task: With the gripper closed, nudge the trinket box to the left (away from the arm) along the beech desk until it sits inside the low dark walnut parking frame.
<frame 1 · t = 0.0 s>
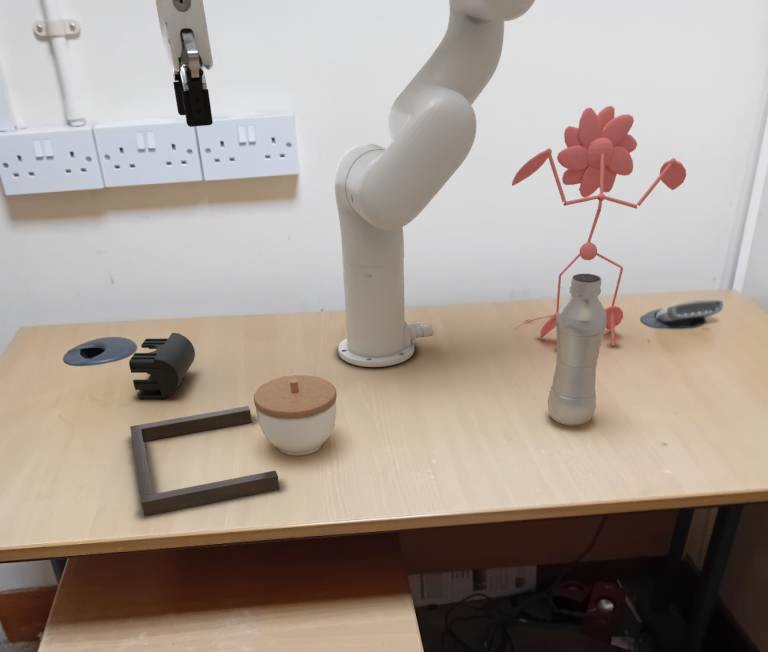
hand: (195, 119, 104), 37 cm above the table, tool pointing down, fingers open, 9 cm apart
parking frame: (202, 462, 103), on the table
figurine: (573, 334, 135), on the table
plastic bottle: (569, 420, 110), on the table
end cap: (168, 387, 123), on the table
trinket box: (300, 445, 107), on the table
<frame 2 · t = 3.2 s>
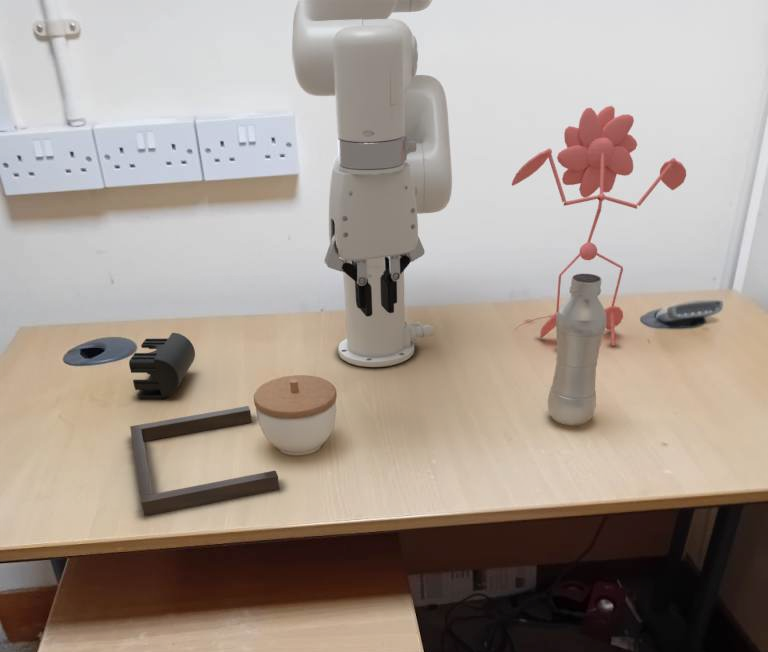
hand: (376, 310, 100), 17 cm above the table, tool pointing down, fingers closed
nothing on the table moved.
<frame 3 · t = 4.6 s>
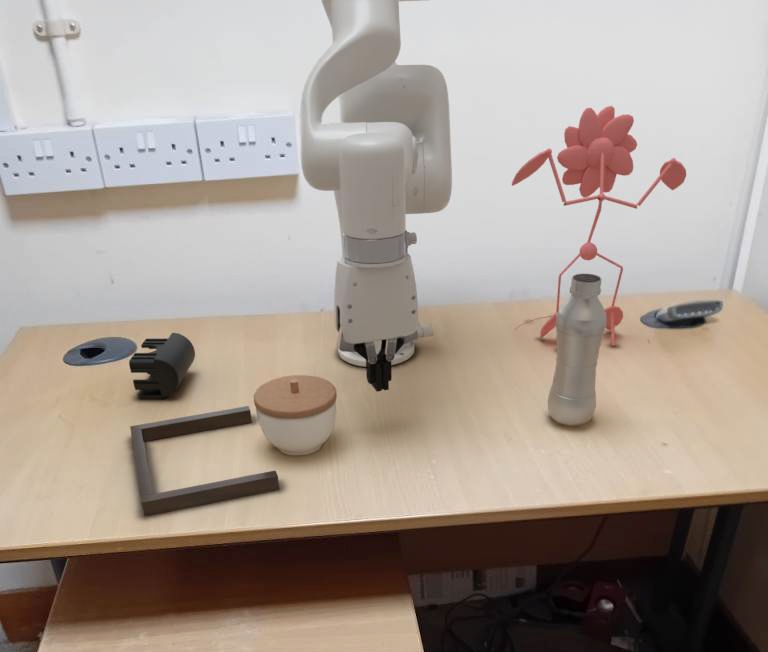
hand: (379, 386, 105), 7 cm above the table, tool pointing down, fingers closed
nothing on the table moved.
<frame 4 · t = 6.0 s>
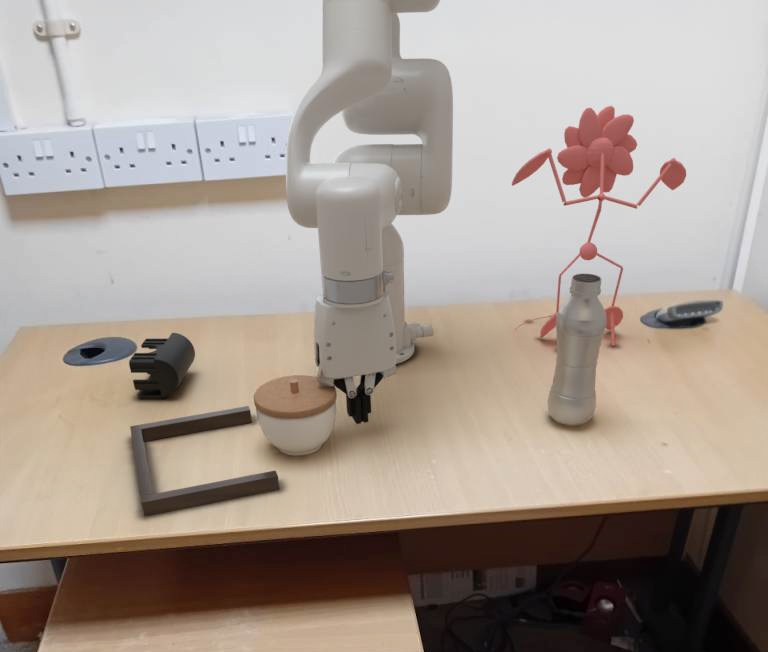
hand: (359, 418, 107), 2 cm above the table, tool pointing down, fingers closed
trinket box: (300, 445, 107), on the table, touching gripper
everything else where it was.
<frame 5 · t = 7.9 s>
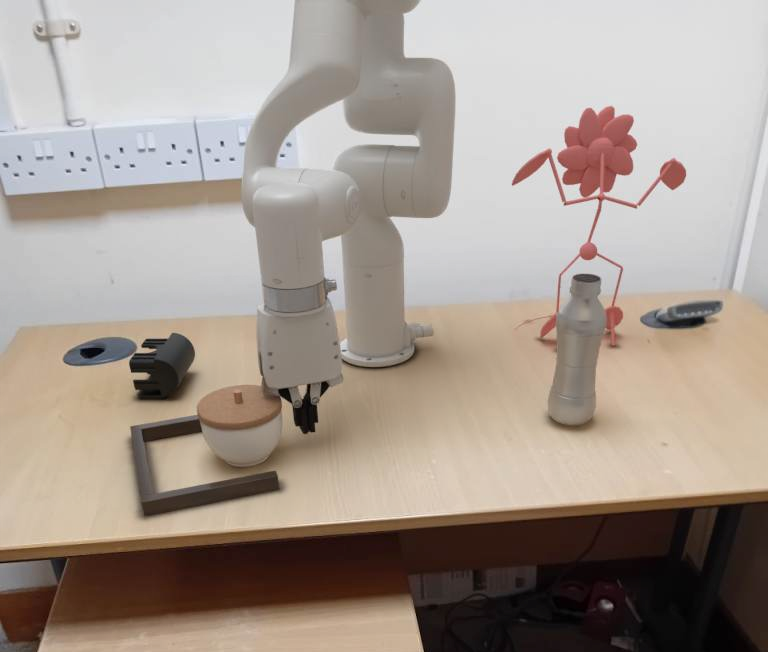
hand: (306, 428, 105), 2 cm above the table, tool pointing down, fingers closed
trinket box: (247, 456, 105), on the table, touching gripper
everything else where it was.
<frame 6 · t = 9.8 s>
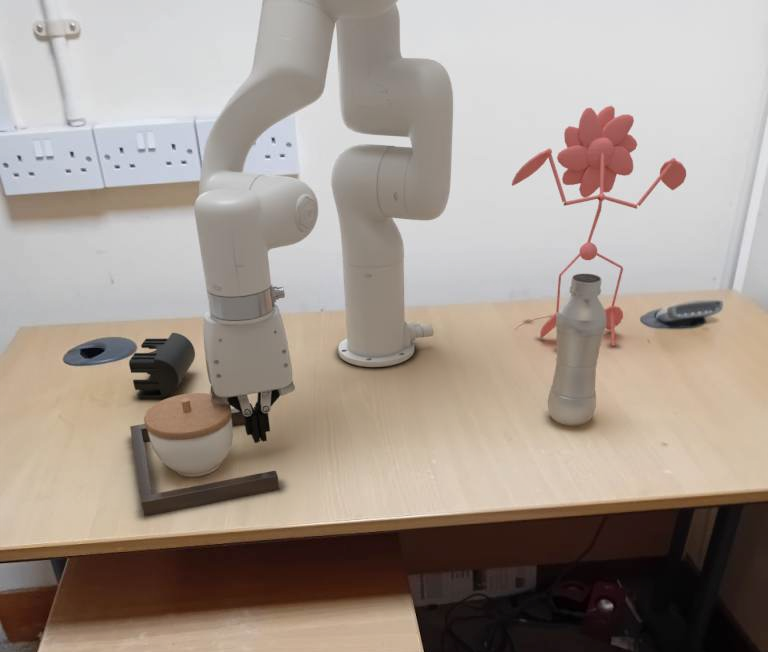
hand: (258, 437, 104), 2 cm above the table, tool pointing down, fingers closed
trinket box: (198, 465, 103), on the table, touching gripper
everything else where it was.
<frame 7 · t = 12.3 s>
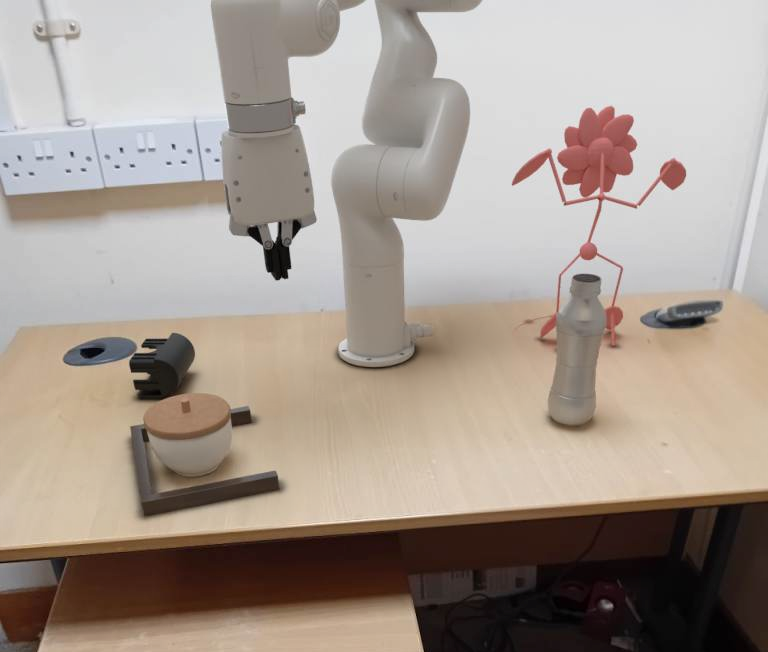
hand: (279, 276, 100), 21 cm above the table, tool pointing down, fingers closed
trinket box: (197, 465, 103), on the table
everything else where it was.
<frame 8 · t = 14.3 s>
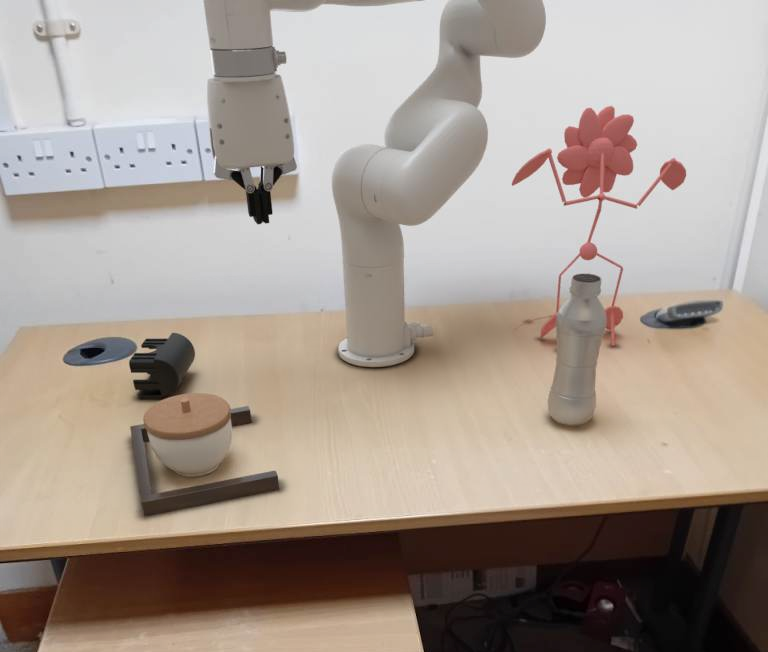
hand: (261, 221, 106), 25 cm above the table, tool pointing down, fingers closed
nothing on the table moved.
at the end: trinket box inside the target area (0.7 cm from its centre), on the table; trinket box tilted 0°; trinket box moved 13.9 cm from its start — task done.
